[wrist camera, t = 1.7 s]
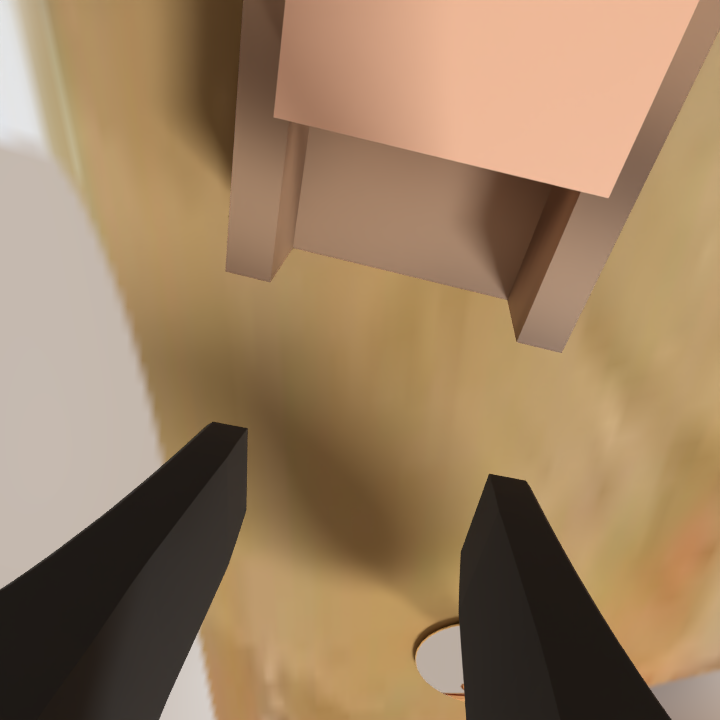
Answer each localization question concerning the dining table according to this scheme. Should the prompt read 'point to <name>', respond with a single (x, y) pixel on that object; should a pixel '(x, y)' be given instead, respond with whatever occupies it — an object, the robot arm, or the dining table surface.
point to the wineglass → (442, 661)
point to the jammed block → (484, 78)
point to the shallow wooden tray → (431, 197)
